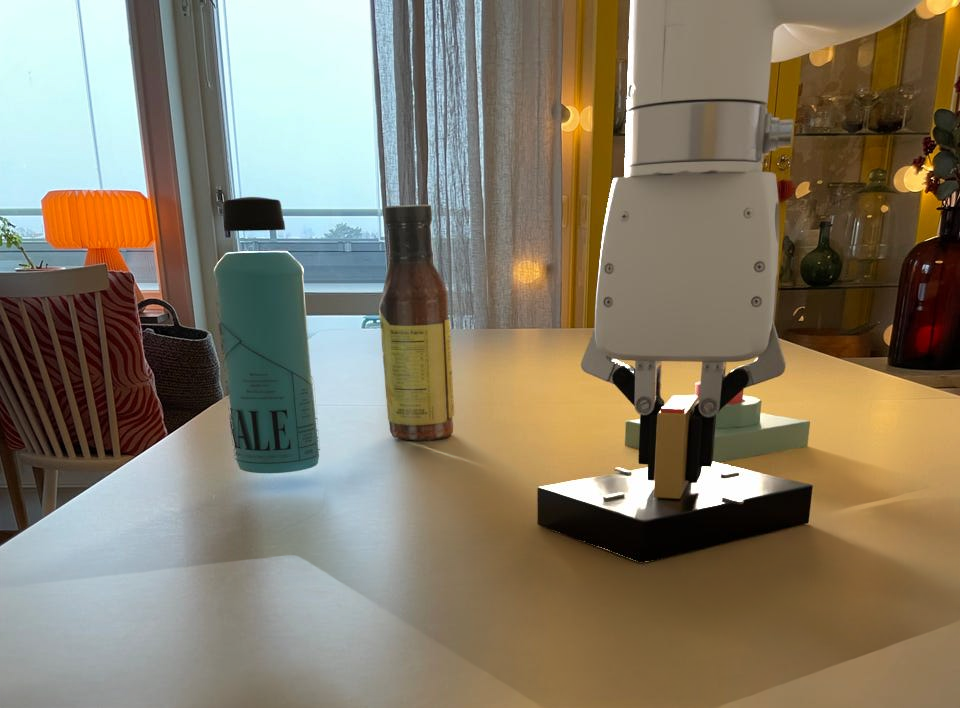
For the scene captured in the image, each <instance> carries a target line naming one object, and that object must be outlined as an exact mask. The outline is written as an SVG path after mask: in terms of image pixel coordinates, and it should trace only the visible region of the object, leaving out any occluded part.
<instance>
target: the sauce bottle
mask: <svg viewBox="0 0 960 708" xmlns="http://www.w3.org/2000/svg"><path fill="white" fill-rule="evenodd" d="M384 221H385V222H384V223H385V225H386V227H387V235H388V236H387V237H388V249H389V252H388V261H389V262H388V265H387V271H386V276H385V280H384V284H383V289H382V293H381V297H380V302H379V304H378V305H379V306H378V310H379V311H378V312H379V322H380V336H381V351H382V363H383V374H384V376H383V377H384V388H385V389H384V390H385V401H386V414H387V419H388V424H389V433H390V434H391V436H392V437H393V438H395V439H400V440H405V441H416V442H429V441H434V440H440V439H445V438H447V437H450V436H452V434H453V433H454V418H453V417H454V416H455V413H456V412H455V398H454V397H455V396H454V378H453V377H454V376H453V375H454V374H453V361H452V359H453V357H452V338H451V337H452V336H451V319H450V317H449V304H448V303H449V302H448V290H447V285H446V283H445V282H444V279H443V278H442V276H441V274H440V273H439V271H438V269H437V268H436V266H435V265H434V263H433V256H434V255H433V254H434V253H433V250H432V233H431V232H432V231H431V225H432V221H433V211H432V205H431V204H405V205H386V206H385V207H384Z"/></svg>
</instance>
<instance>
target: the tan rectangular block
mask: <svg viewBox="0 0 960 708" xmlns="http://www.w3.org/2000/svg"><path fill="white" fill-rule="evenodd" d="M697 402H698V396H687V395H681V394H678V395H676V394H675V395H672V396H671V398H670V399H669V400H668V401H667V402H666V403H665V404H664V406H663V407H662V408H661V410H660V411H659V413H658V414H657V434H656V454H655V474H654V494H653V497H654V498H671V499H680V498H681V496H682V494H683V492H684V490H685V488H686V486H687V484H688V481H685V475H686V459H687V443H688V426H689V419H690V417H691V416H692V414H693V413H694V406H695V404H696V403H697Z"/></svg>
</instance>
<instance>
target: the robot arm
mask: <svg viewBox="0 0 960 708" xmlns="http://www.w3.org/2000/svg"><path fill="white" fill-rule="evenodd" d="M923 1H924V0H630V3H629V30H628V37H629V38H628V58H627V59H628V61H627V62H628V63H627V93H626V94H627V95H626V98H627V99H626V119H625V120H626V123H625V153H624V156H625V157H624V176H621V177H620V176H619V177H614V178H613V179H612V183H611V187H610V192H609V196H608V197H609V198H608V202H607V207H606V213H605V217H604V224H603V230H602V238H601V248H600V256H599V264H598V265H599V266H598V274H597V275H598V276H597V286H596V296H595V310H594V329H593V331H592V334H591V336H590V339H589V341H588V344H587V346H586V348H585V351H584V354H583V357H582V359H581V362H580V368H581V370H582V371H583V372H584V373H586V374H588V375H590V376H593V377H595V378H597V379H600V380H602V381H603V382H607V383H609V384H612V385H614V386H615V387H616V388H617V389H618V391H620V393H622V395H624V396H625V398H626V399H627V400H628V401H629V403H630V404H631V405H633V406H634V410H635V412H636V413H637V414H638V415H639V419H640V435H639V449H638V464H639V465H647V468H648V470H647V481H654V474H655V454H656V434H657V414H658V413H659V411H660V410H661V408H662V407H663V406H665V400H664V399H663V397H662V373H663V372H662V371H663V369H662V367H663V362H689V363H690V362H693V363H701V370H700V371H701V372H700V381H701V383H700V394H699V401H698V402H697V403H696V404H695V406H694V413H693V414H692V416H691V417H690V419H689V426H688V443H687V459H686V475H685V481H688V483H697V482H698V480H699V478H700V476H701V473H702V467H712V463H713V453H714V439H715V426H716V414H717V412H718V411H719V410H721V409H722V408H723V407H724V406H725V405H726V404H727V403H728V402H730V401H731V400H732V399H733V398H734V397H735V396H736V395H737V394H738V393H740V392H741V391H742V390H743V389H744V390H745V389H746V388H749V387H752V386H756V385H759V384H761V383H765V382H766V381H769V380H772V379H775V378H778V377H781V376H782V375H783V374H784V373H785V370H786V367H787V363H786V359H785V356H784V353H783V349H782V345H781V342H780V339H779V335H778V332H777V328H776V326H775V321H776V319H775V318H776V310H777V309H776V308H777V297H778V296H777V294H778V293H777V292H778V278H779V277H778V274H779V254H780V253H779V251H780V250H779V249H780V205H779V204H780V203H779V191H778V181H777V175H776V173H774V172H772V171H771V172H770V171H763V166H764V164H763V163H764V161H765V156H769V155H770V152H773V151H778V149H779V148H780V149H781V148H792V146H793V137H794V123H795V122H794V121H795V119H780V116H778V117H777V116H776V117H773V114H772V113H771V112H769V110H768V108H767V106H768V104H769V103H768V101H769V91H770V90H769V89H770V81H771V80H770V78H771V65H772V63H780V62H785V61H789V60H792V59H795V58H799V57H802V56H804V55H807V54H810V53H814V52H816V51H819V50H822V49H825V48H830V47H834V46H838V45H842V44H845V43H848V42H851V41H854V40H857V39H861V38H864V37H866V36H870V35H872V34H875V33H877V32H880V31H883V30H884V29H886V28H889V27H890V26H892V25H894V24H896V23H897V22H898V21H900V20H902V19H903V18H905V17H906V16H907V15H908V14H910V13H911V12H912V11H914V10H915V9H916V8H917V7H918V6H919V5H920V4H921V3H922V2H923ZM755 358H756V359H755ZM752 359H754V360H753V361H750V360H752ZM622 361H635V363H634V364H635V365H634V366H632V365H631V364H627V363H624V362H622ZM745 361H749V362H747V363H746V364H743V365H739V366H736V367H734V368H732V369H731V370H730V371H729V372H728V373H726V371H727V364H728V363H736V362H737V363H738V362H739V363H740V362H745ZM744 390H743V391H744Z"/></svg>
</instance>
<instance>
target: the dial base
mask: <svg viewBox="0 0 960 708" xmlns="http://www.w3.org/2000/svg"><path fill="white" fill-rule="evenodd" d="M647 470H648V467H644V468H643V467H642V468H637V469H632V470H629V469H625V468H621V467H614V469H613V471H614V472H615V473H609V474H604V475H600V476H599V475H598V476H593V477H587V478H581V479H576V480H570V481H564V482H559V483H555V484H554V483H553V484H548V485H543V486H538V487H537V490H536V491H537V495H536V496H537V498H536V499H537V502H536V503H537V507H536V508H537V509H536V510H537V513H536V514H537V515H536V516H537V518H536V519H537V520H536V521H537V526H539V525H540V527H542V526H543V527H542V528H544V527H546V528H545V529H547V528H548V529H547V530H550V529H551V530H550V531H552V530H554V531H553V532H555V531H557V532H556V533H558V532H560V533H559V534H561V533H562V534H561V535H563V534H565V535H564V536H566V535H567V537H569V536H570V537H569V538H571V537H573V538H572V539H574V538H575V539H574V540H577V539H578V540H577V541H579V540H581V541H580V542H582V541H585V542H586V543H585V542H584V543H585V544H587V543H589V544H588V545H590V544H593V545H595V546H599V547H602V548H605V549H608V550H610V551H612V552H615V553H618V554H620V555H623V556H625V557H628V558H631V559H633V560H636V561H638V562H645V561H650V562H652V561H651V560H655V561H658V560H657V559H659V560H662V559H661V558H663V559H667V558H671V557H675V556H679V555H683V554H687V553H692V552H695V551H699V550H704V549H707V548H713V547H717V546H721V545H725V544H729V543H734V542H737V541H741V540H746V539H749V538H754V537H757V536H762V535H765V534H770V533H774V532H775V533H776V532H779V531H783V530H786V529H791V528H796V527H798V526H803V525H807V524H809V523H810V516H811V505H812V498H813V496H812V495H813V487H814V485H813V484H810V483H805V482H802V481H797V480H793V479H789V478H785V477H780V476H776V475H771V474H767V473H763V472H759V471H754V470H749V469H745V468H741V467H737V466H731V465H729V464H724V463H721V462H719V463H715V462H713V463H712V467H702V473H701V476H700V478H699V480H698V482H697V483H688V484H687V486H686V488H685V490H684V492H683V494H682V496H681V498H680V499H671V498H654V497H653V494H654V481H647ZM593 545H592V546H593ZM595 546H594V547H595ZM625 557H624V558H625ZM633 560H632V561H633ZM638 562H637V563H638Z"/></svg>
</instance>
